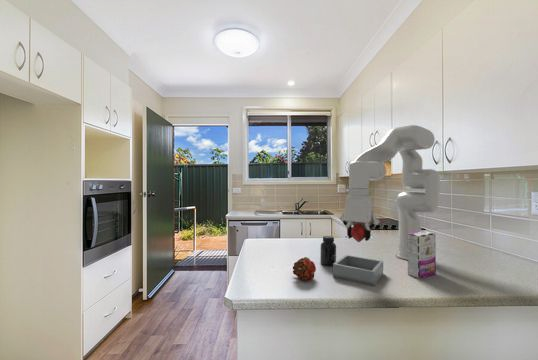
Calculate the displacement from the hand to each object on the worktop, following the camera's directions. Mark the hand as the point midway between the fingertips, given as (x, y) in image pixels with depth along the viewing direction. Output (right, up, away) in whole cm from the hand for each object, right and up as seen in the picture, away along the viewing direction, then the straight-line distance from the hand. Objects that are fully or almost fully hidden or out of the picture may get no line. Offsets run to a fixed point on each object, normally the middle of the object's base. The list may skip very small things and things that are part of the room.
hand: (358, 238), depth 102 cm
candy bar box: (+26, -15, +2) cm, 30 cm away
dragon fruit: (-22, -15, -3) cm, 26 cm away
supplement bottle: (-9, -15, +14) cm, 22 cm away
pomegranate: (0, -2, 0) cm, 2 cm away
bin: (0, -14, 0) cm, 14 cm away
